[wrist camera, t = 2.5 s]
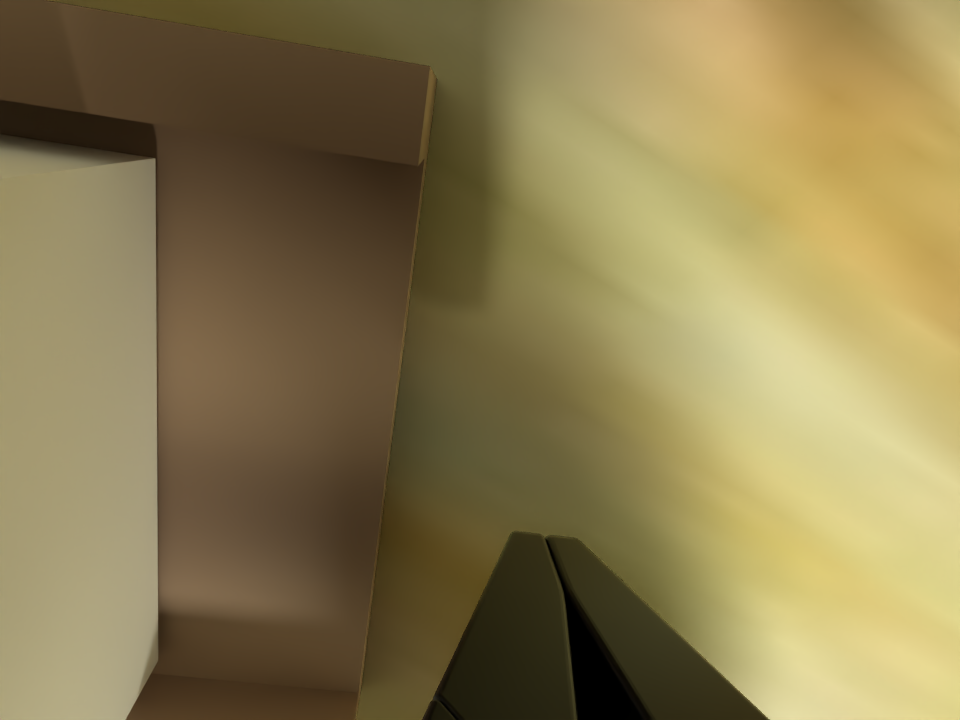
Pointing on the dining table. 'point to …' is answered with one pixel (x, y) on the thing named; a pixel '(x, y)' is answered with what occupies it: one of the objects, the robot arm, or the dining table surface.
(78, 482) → the carriage
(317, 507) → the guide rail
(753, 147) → the dining table surface
